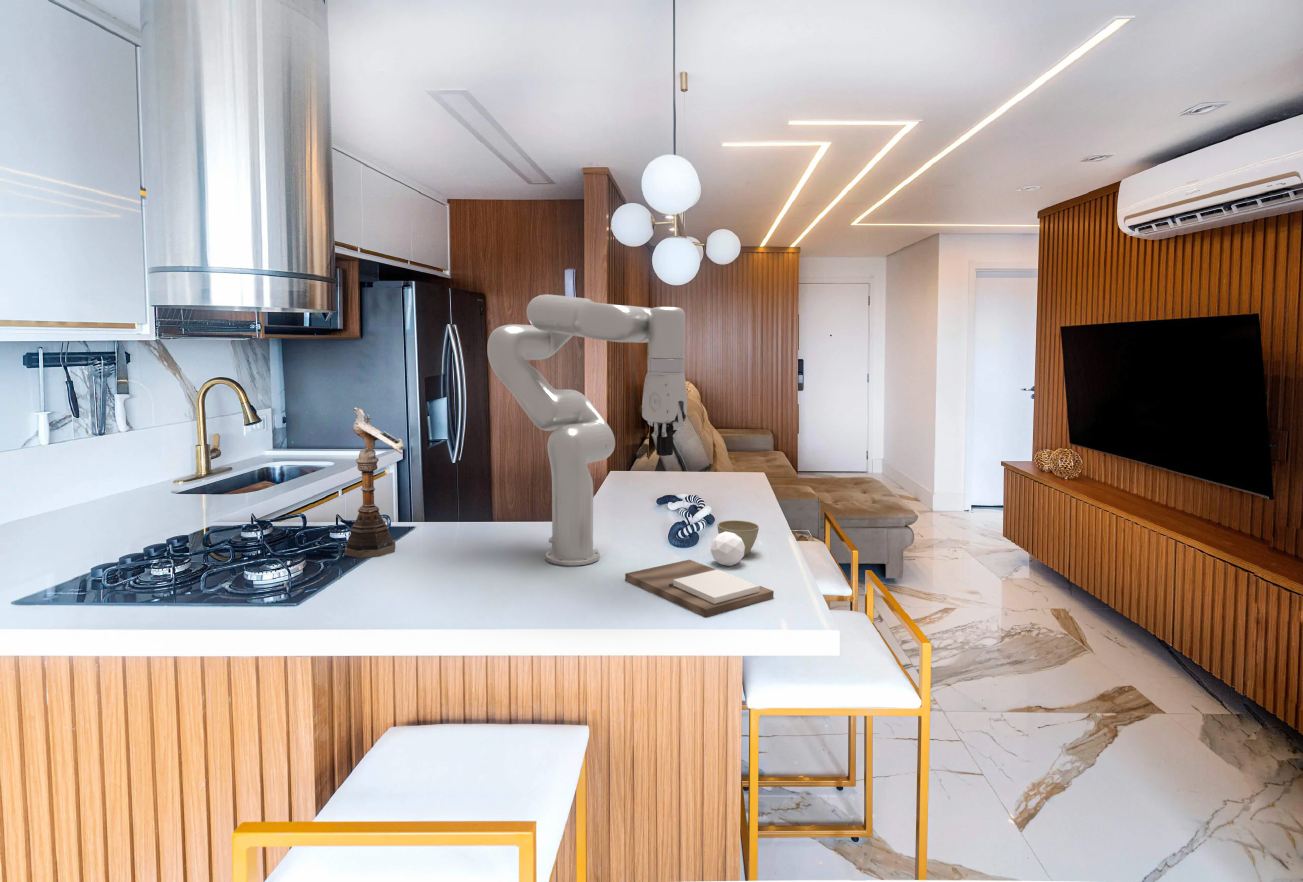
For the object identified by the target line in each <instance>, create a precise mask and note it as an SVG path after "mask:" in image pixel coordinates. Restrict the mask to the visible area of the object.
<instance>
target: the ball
mask: <svg viewBox="0 0 1303 882" xmlns="http://www.w3.org/2000/svg"><path fill="white" fill-rule="evenodd" d="M710 545H711V546H710V553H711V556H712V558H713V560H715V561H716V563H718V564H720V565H722V566H727V567H732V566H734V565H736V564H738V563H739V562H741V560H742V559H743V557H745V556H744V550H745V546H744V543H743V541H742V538H740V537H739V536H737V535H736V534H735V533H730V532H726V531H725V532H723V533H720V534H719V533H718V534H717V535H716V536H715V537H714V538H713V540H711V544H710Z"/></svg>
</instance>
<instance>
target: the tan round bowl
mask: <svg viewBox="0 0 1303 882" xmlns="http://www.w3.org/2000/svg"><path fill="white" fill-rule="evenodd" d="M759 528H760V526H759V525H758V523H755V522H752V521H747V520H738V519H734V520H733V519H732V520H729V519H728V520H722V521H720V522H718V523H717V533H718V534H720V533H723V532H725V531H726V532H730V533H735V534H736V535H737V536H739V537H740V538H742V541H743V543H744V546H745V550H744V556H743V557H746V556H748V554H749V553H750V551H751V550H752V548H753V547H754V545H755V542H756V540H757V537H758V534H759Z"/></svg>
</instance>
